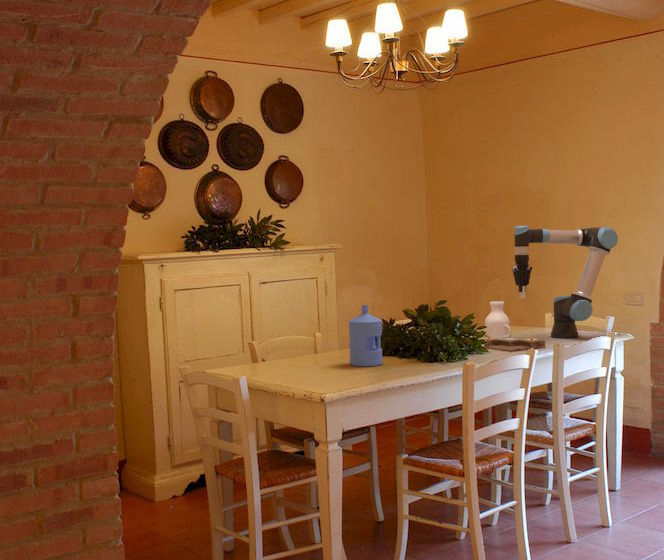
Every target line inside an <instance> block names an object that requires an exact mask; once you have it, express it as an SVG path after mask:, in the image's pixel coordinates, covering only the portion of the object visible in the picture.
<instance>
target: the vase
mask: <svg viewBox="0 0 664 560" xmlns="http://www.w3.org/2000/svg"><path fill="white" fill-rule="evenodd" d="M489 305H490V309H491V310H490V312H489V314H488V315H487V316H486V318H485V319H484V327H485V326H487V328H485V331H486V336H487V337H486V338H491V322H492V321H506V325H508V326H509V327H510V325H511V324H510V323H511V322H510V321H511V320H510V317H508V316H507V314H506V313H505V312H504V305H505V302H504V301H500V300H499V301H489ZM508 333H509V330H508V328H506V335H508Z"/></svg>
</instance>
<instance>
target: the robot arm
mask: <svg viewBox="0 0 664 560" xmlns="http://www.w3.org/2000/svg"><path fill="white" fill-rule="evenodd" d="M513 231H514V232H513V235H514V254H515V255H514V262H515V264H514V267H511V271H512V273H513V278H514V283H515V285H516V286H517V287H518V293H519V299H526V292H527V288H526V287H527V286H528V285H529V283H530V279H531V272H532V270H533V267H532V266H531V265H530V264H529V261H530V255H529V254H530V244H564V245H565V244H566V245H575V246H577V247H586V248H587V249H589V252H588V255H587V258H586V261H585V263H584V267H583V269H582V272H581V274H580V277H579V280H578V283H577V286H576V288H575V291H574V292H571V294H570V295H562V296H561V295H560V296H555V297H554V298H553V303H552V304H553V325H552V328H551V331H550V337H552V338H556V339H574V338H579V331H578V328H577V325H576V322H583V321H586V320H588V319H589V318H590V317H591V316H592V313H593V304H592V302H593V299H592V294H593V291H594V288H595V286H596V282H597V281H598V277H599V275H600V272H601V268H602V267H603V266H602V265H603V263H604V261H605V258H606V256H608V255H610V253H611V251H612V249H613V248H615V247H616V246H617V244H618V241H619V237H618V233H617V232H616V230H615V229H614V228H612V227H609V226H601V227H600V226H599V227H597V226H595V227H589V228H588V227H587V228H577V229H575V230H572V229H571V230H568V229H566V230H562V229H548V228H529V226H528V225H516V226H515V227H514V230H513Z"/></svg>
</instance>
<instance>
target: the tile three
mask: <svg viewBox="0 0 664 560" xmlns="http://www.w3.org/2000/svg"><path fill="white" fill-rule="evenodd" d="M522 340H523V341H526V342H537V341H540V340H541V339H538V338H524V339H522Z"/></svg>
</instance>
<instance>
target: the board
mask: <svg viewBox="0 0 664 560" xmlns="http://www.w3.org/2000/svg"><path fill="white" fill-rule="evenodd" d="M539 340H540V341H537V342H526V341H523V339H518V341H512V342H508V341H502V340H498V339H497V340H495V341H487V344H485V345H484V346H485V347H486V348H485V349H489V350H493V351H494V350H495V351H501V352H507V353H515V352H522V351H529V350H528V349H531V348H533V349H531V350H538V349H539V350H540V349H545V348H546V340H542V339H539Z"/></svg>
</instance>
